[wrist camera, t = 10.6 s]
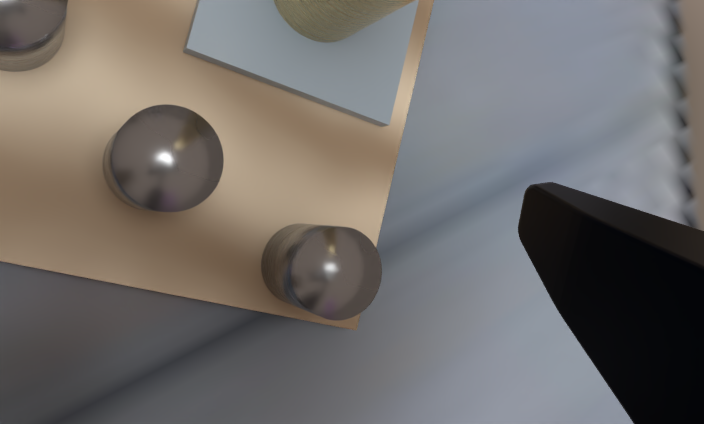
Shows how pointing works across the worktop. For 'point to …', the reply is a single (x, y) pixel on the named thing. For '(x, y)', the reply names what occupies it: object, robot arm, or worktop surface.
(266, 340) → the worktop surface
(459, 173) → the worktop surface
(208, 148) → the short steel spacers
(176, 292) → the board
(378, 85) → the grey flat square plate
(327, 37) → the tall brass spacer
